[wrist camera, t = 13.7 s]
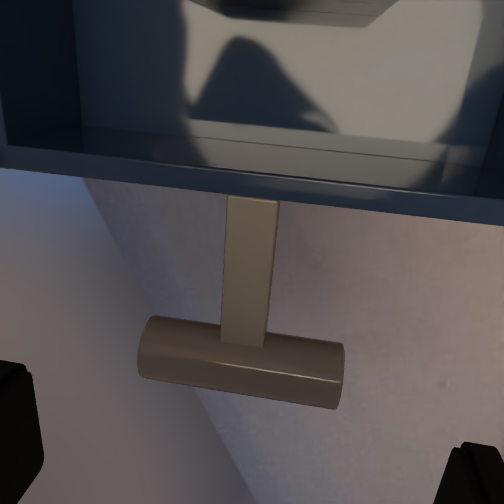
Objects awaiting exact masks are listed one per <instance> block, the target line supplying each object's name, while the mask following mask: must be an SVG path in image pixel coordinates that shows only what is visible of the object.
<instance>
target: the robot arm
mask: <svg viewBox="0 0 504 504" xmlns="http://www.w3.org/2000/svg"><path fill="white" fill-rule="evenodd" d="M43 461H44V451H43V445H42V438H41V432H40V425H39V419H38V412H37V406H36V399H35V392H34V386H33V379H32V375H31V373H30V372H28V371H27V369H26V366H25V365H24V364H20V363H15V362H8V361H3V360H0V504H17V503H18V501H19V500H20V499H21V497H22V496H23V495H24V493H25V492H26V490H27V489H28V488H29V486H30V485H31V483H32V482H33V481H34V479H35V478H36V476H37V475H38V473H39V472H40V470H41V468H42V465H43ZM433 504H504V462H503V460H502V457H501V455H500V453H499V451H498V450H497V448H495V447H494V446H488V445H482V444H476V443H471V442H464V443H462V445H461V447H460V448H456V447H454V448H453V449H452V451H451V453H450V456H449V459H448V462H447V465H446V468H445V471H444V474H443V477H442V479H441V482H440V485H439V488H438V491H437V494H436V497H435V500H434V503H433Z"/></svg>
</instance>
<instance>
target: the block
mask: <svg viewBox="0 0 504 504" xmlns="http://www.w3.org/2000/svg"><path fill="white" fill-rule="evenodd" d="M189 1H191V2H193V3H199V4H213V5H227V6H242V7H256V8H271V9H285V10H299V11H314V12H328V13H343V14H357V15H371V16H380V15H382V14H383V13H384V12H385V11H386V10H388V9H389V8H390V7H391V6H392V5H394V4H395V3H396V2H397V1H398V0H189Z"/></svg>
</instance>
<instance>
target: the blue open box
mask: <svg viewBox="0 0 504 504" xmlns="http://www.w3.org/2000/svg"><path fill="white" fill-rule="evenodd" d="M0 168H6V169H16V170H26V171H34V172H43V173H51V174H60V175H69V176H77V177H85V178H94V179H102V180H111V181H119V182H128V183H137V184H145V185H154V186H162V187H171V188H179V189H188V190H197V191H205V192H214V193H222V194H229V195H228V197H227V214H226V232H225V251H224V269H223V288H222V307H221V325H219V324H212V323H205V322H199V321H192V320H185V319H179V318H172V317H165V316H159V315H155V316H152V317H151V318H150V319H149V320H148V322H147V324H146V326H145V328H144V330H143V333H142V336H141V340H140V344H139V349H138V360H137V365H138V372H139V375H140V376H141V377H143V378H146V379H152V380H158V381H164V382H170V383H176V384H182V385H188V386H194V387H200V388H206V389H212V390H218V391H224V392H230V393H236V394H242V395H248V396H254V397H260V398H266V399H272V400H278V401H284V402H290V403H296V404H302V405H308V406H314V407H320V408H326V409H332V410H335V409H337V407H338V405H339V401H340V397H341V392H342V385H343V376H344V362H345V353H344V346H343V344H342V343H339V342H332V341H326V340H319V339H312V338H305V337H299V336H292V335H285V334H279V333H272V332H267V326H268V316H269V306H270V297H271V287H272V278H273V268H274V258H275V249H276V239H277V230H278V220H279V210H280V201H281V200H282V201H291V202H300V203H308V204H317V205H325V206H334V207H342V208H351V209H360V210H368V211H377V212H385V213H394V214H402V215H411V216H420V217H428V218H437V219H445V220H454V221H463V222H471V223H480V224H488V225H497V226H504V0H398V1H397V2H396V3H395V4H394V5H392V6H391V7H390V8H389V9H388V10H386V11H385V12H384V13H383V14H382V15H380V16H371V15H357V14H343V13H328V12H314V11H299V10H285V9H271V8H256V7H242V6H227V5H213V4H199V3H193V2H191V1H189V0H0Z"/></svg>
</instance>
